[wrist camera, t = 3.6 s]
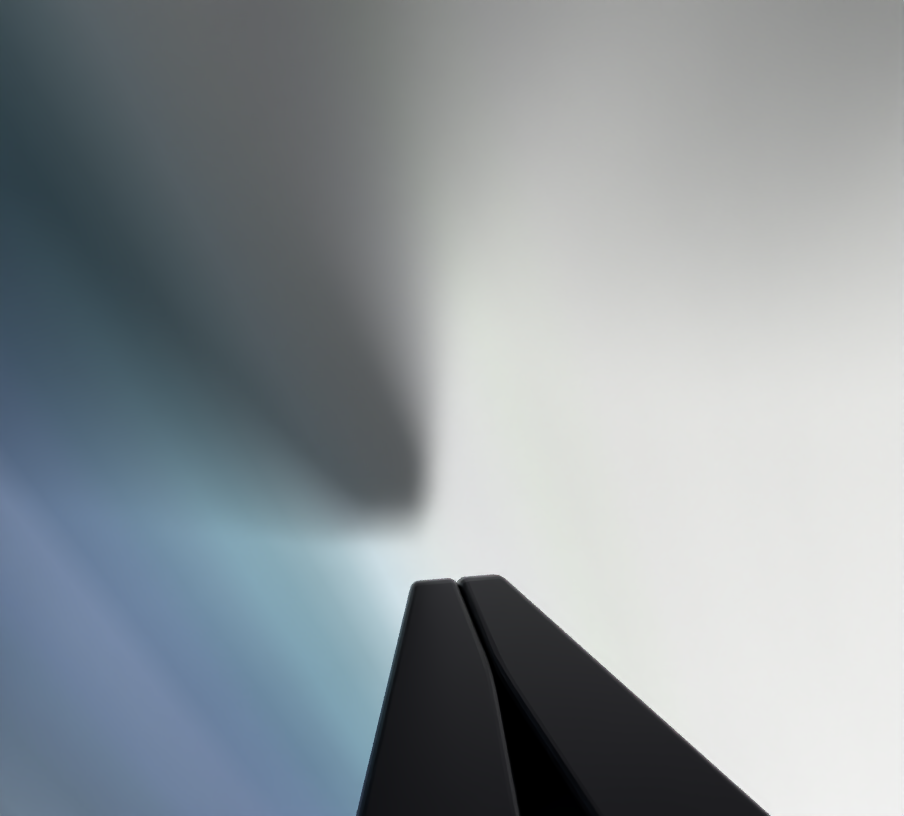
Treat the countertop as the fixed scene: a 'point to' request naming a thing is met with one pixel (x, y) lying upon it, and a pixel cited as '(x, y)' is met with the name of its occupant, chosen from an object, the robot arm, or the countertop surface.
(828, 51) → the countertop surface
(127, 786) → the countertop surface
